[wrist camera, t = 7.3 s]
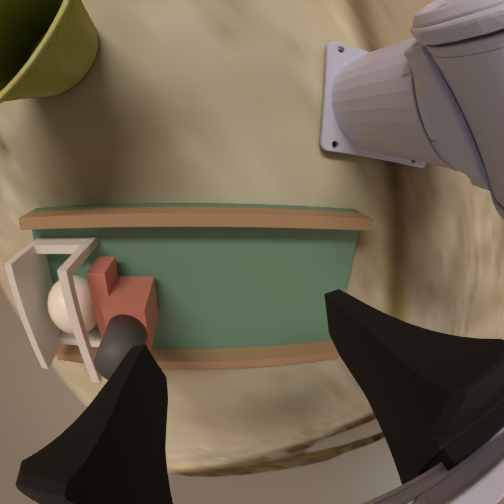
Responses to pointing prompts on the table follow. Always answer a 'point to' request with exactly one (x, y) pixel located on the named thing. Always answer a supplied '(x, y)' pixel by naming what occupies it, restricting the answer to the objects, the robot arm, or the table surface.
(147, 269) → the pitch
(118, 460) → the robot arm
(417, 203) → the table surface
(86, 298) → the ball
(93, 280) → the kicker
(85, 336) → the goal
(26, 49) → the plant pot
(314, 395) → the table surface
